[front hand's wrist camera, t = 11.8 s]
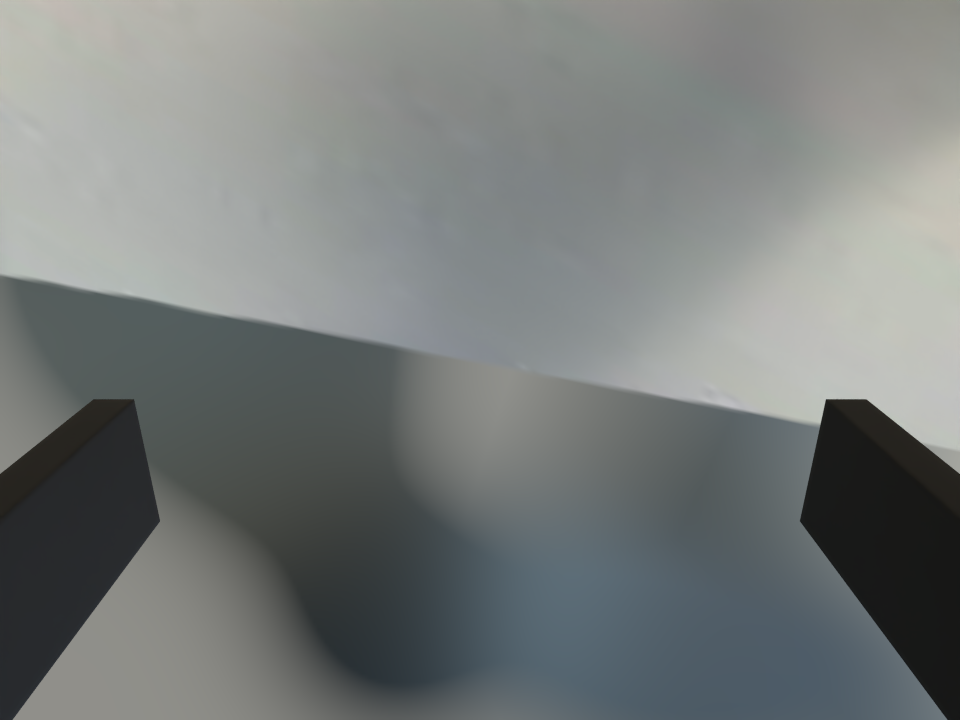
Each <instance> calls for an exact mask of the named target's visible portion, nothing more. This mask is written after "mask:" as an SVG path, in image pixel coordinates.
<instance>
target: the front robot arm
mask: <svg viewBox="0 0 960 720" xmlns="http://www.w3.org/2000/svg"><path fill="white" fill-rule="evenodd" d="M159 522H160V519H159V514H158V509H157V505H156V500H155V495H154V491H153V486H152V481H151V477H150V472H149V467H148V463H147V458H146V453H145V449H144V444H143V439H142V435H141V430H140V425H139V421H138V416H137V411H136V407H135V402H134V399H94V400H92V401H91V402H90V403H89V404H87V405H86V406H85V407H84V408H82V409H81V410H80V411H79V412H77V413H76V414H75V415H74V416H72V417H71V418H70V419H69V420H67V421H66V422H65V423H64V424H62V425H61V426H60V427H59V428H57V429H56V430H55V431H53V432H52V433H51V434H50V435H48V436H47V437H46V438H45V439H44V440H42V441H41V442H40V443H39V444H37V445H36V446H35V447H33V448H32V449H31V450H30V451H28V452H27V453H26V454H25V455H23V456H22V457H21V458H20V459H18V460H17V461H16V462H15V463H13V464H12V465H11V466H10V467H9V468H7V469H6V470H5V471H3V472H2V473H1V474H0V720H13V718H14V717H15V716H16V714H17V713H18V712H19V710H20V709H21V708H22V706H23V705H24V703H25V702H26V701H27V699H28V698H29V697H30V695H31V694H32V693H33V691H34V690H35V689H36V687H37V686H38V685H39V683H40V682H41V681H42V679H43V678H44V677H45V675H46V674H47V673H48V671H49V670H50V669H51V667H52V666H53V664H54V663H55V662H56V660H57V659H58V658H59V656H60V655H61V654H62V652H63V651H64V650H65V648H66V647H67V646H68V644H69V643H70V642H71V640H72V639H73V638H74V636H75V635H76V634H77V632H78V631H79V630H80V628H81V627H82V625H83V624H84V623H85V621H86V620H87V619H88V617H89V616H90V615H91V613H92V612H93V611H94V609H95V608H96V607H97V605H98V604H99V603H100V601H101V600H102V598H103V597H104V596H105V595H106V593H107V592H108V590H109V589H110V588H111V586H112V585H113V584H114V582H115V581H116V580H117V578H118V577H119V576H120V574H121V573H122V572H123V570H124V569H125V568H126V566H127V565H128V564H129V562H130V561H131V560H132V558H133V557H134V555H135V554H136V553H137V551H138V550H139V549H140V547H141V546H142V545H143V543H144V542H145V541H146V539H147V538H148V537H149V535H150V534H151V533H152V531H153V530H154V529H155V527H156V526H157V525H158V523H159ZM800 522H801V523H802V525H803V526H804V527H805V529H806V530H807V531H808V533H809V534H810V535H811V537H812V538H813V539H814V541H815V542H816V543H817V545H818V546H819V547H820V549H821V550H822V551H823V553H824V554H825V555H826V557H827V558H828V560H829V561H830V562H831V564H832V565H833V566H834V568H835V569H836V570H837V572H838V573H839V574H840V576H841V577H842V578H843V580H844V581H845V582H846V584H847V585H848V586H849V588H850V589H851V590H852V592H853V593H854V595H855V596H856V597H857V598H858V600H859V601H860V603H861V604H862V605H863V607H864V608H865V609H866V611H867V612H868V613H869V615H870V616H871V617H872V619H873V620H874V621H875V623H876V624H877V625H878V627H879V628H880V629H881V631H882V632H883V634H884V635H885V636H886V637H887V639H888V640H889V642H890V643H891V644H892V646H893V647H894V648H895V650H896V651H897V652H898V654H899V655H900V656H901V658H902V659H903V660H904V662H905V663H906V664H907V666H908V667H909V669H910V670H911V671H912V672H913V674H914V675H915V676H916V678H917V679H918V681H919V682H920V683H921V685H922V686H923V687H924V689H925V690H926V691H927V693H928V694H929V695H930V697H931V698H932V699H933V701H934V702H935V704H936V705H937V706H938V708H939V709H940V710H941V712H942V713H943V714H944V716H945V717H946V718H947V720H960V474H959V473H958V472H957V471H955V470H954V469H953V468H952V467H950V466H949V465H948V464H947V463H945V462H944V461H943V460H942V459H940V458H939V457H938V456H937V455H935V454H934V453H933V452H932V451H930V450H929V449H928V448H927V447H925V446H924V445H923V444H922V443H920V442H919V441H918V440H917V439H915V438H914V437H913V436H912V435H910V434H909V433H908V432H907V431H905V430H904V429H903V428H902V427H900V426H899V425H898V424H897V423H895V422H894V421H893V420H892V419H890V418H889V417H888V416H887V415H885V414H884V413H883V412H881V411H880V410H879V409H878V408H876V407H875V406H874V405H873V404H871V403H870V402H869V401H868V400H866V399H826V402H825V407H824V411H823V416H822V421H821V425H820V430H819V435H818V439H817V444H816V449H815V453H814V458H813V463H812V467H811V472H810V477H809V481H808V486H807V491H806V495H805V500H804V505H803V509H802V514H801V519H800Z"/></svg>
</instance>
